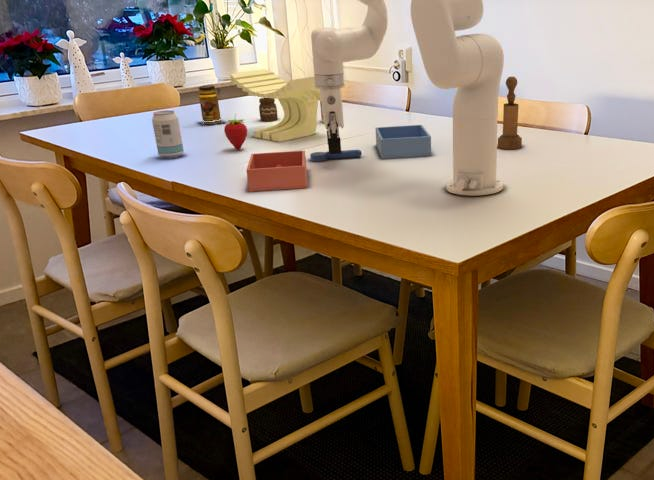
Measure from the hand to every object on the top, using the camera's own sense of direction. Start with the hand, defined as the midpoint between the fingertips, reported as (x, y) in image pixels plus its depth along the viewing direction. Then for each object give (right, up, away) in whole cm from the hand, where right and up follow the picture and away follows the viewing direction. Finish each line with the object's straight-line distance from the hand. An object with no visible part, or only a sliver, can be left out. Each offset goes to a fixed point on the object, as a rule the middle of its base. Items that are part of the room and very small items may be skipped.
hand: (334, 149), depth 196 cm
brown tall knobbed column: (+47, +2, +6) cm, 48 cm away
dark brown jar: (-28, +27, +58) cm, 70 cm away
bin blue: (+18, +2, +7) cm, 19 cm away
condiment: (-47, +25, +58) cm, 79 cm away
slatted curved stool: (-18, +14, +33) cm, 40 cm away
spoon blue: (0, -2, +1) cm, 2 cm away
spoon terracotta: (-12, -12, -18) cm, 25 cm away
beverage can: (-47, +1, +11) cm, 48 cm away
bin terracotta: (-12, -13, -18) cm, 25 cm away
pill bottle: (-6, +24, +51) cm, 57 cm away
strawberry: (-29, +4, +16) cm, 34 cm away
